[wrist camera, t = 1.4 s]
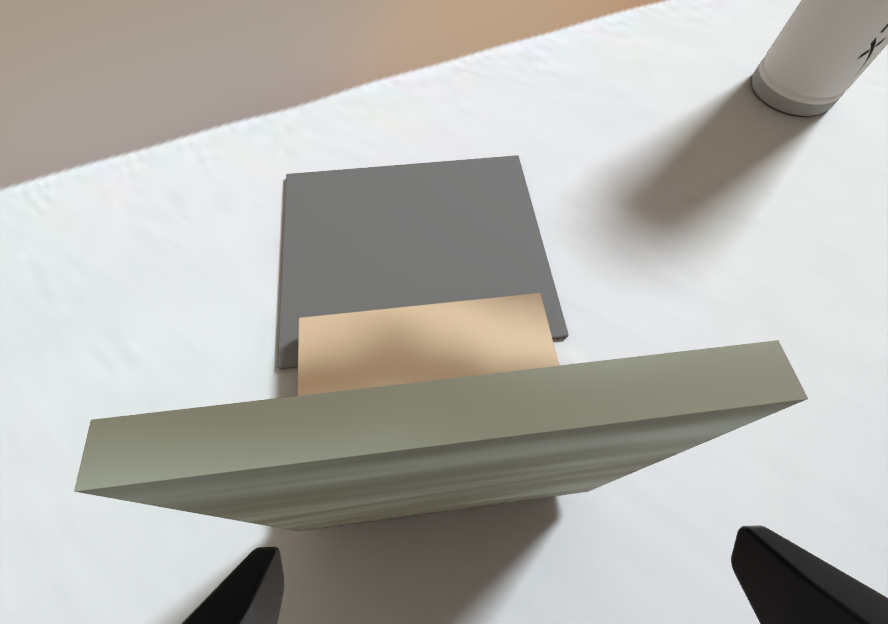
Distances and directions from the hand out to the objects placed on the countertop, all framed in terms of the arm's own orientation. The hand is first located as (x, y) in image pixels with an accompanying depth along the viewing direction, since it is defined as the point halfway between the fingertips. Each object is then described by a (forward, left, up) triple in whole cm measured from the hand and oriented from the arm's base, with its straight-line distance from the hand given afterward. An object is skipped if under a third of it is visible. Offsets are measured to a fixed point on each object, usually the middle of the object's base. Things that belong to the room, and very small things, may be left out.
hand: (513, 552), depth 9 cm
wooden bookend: (+8, +1, -13) cm, 15 cm away
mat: (+17, +1, -14) cm, 22 cm away
